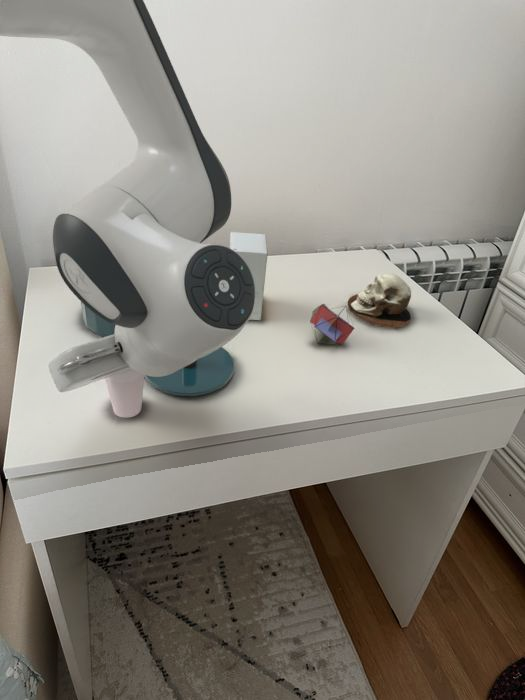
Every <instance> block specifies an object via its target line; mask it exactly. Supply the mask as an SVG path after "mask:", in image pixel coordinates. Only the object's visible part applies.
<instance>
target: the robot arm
mask: <svg viewBox="0 0 525 700" xmlns="http://www.w3.org/2000/svg"><path fill="white" fill-rule="evenodd" d="M0 37H11V38H30V39H31V38H33V39H55V40H59V41H65V42H67V43H70V44H73V45H74V46H76V47H77V48H79V49H81V50H82V51H84V52H85V53H86V54H87V55H88V57H90V58H91V59H92V60H93V61H94V63H95V64H96V66H97V67H98V69H99V70H100V72H101V74H102V76H103V78H104V80H105V81H106V84H107V86H108V87H109V88H110V90H111V93H112V95H113V96H114V98H115V99H116V100H115V101H117V104H118V105H119V107H120V109H121V111H122V113H123V114H124V117H125V118H126V120H127V121H128V124H129V126H130V127H131V129H132V131H133V133H134V135H135V136H136V139H137V150H136V153H135V156H134V157H133V159H132V161H131V162H130V163H129V164H128V165H127V166H125V167H124V168H123V169H121V170H119V172H117V173H116V174H114V175H113V176H112V177H111V178H109V179H108V180H106V181H105V182H103V183H102V184H100V185H99V186H96V187H95V188H94V189H92V190H91V191H90V192H88V193H87V194H85V195H84V196H83V197H81V198H80V199H78V200H77V201H76V202H75V203H74V204H72V205H70V206H69V207H68V208H67V209H66V210H64V211H63V212H61V213H60V214H59V215H57V217H56V218H55V220H54V224H53V229H52V246H53V253H54V258H55V263H56V267H57V269H58V273H59V274H60V276H61V278H62V280H63V282H64V283H65V285H66V287H67V288H68V289H69V290H70V291H71V292H72V294H74V296H75V297H76V298H77V299H78V300H79V301H80V303H81V302H82V303H83V304H84V305H86V306H87V307H88V308H89V309H90V310H91V311H93V312H94V313H95V314H97V315H98V316H100V317H101V318H102V319H104V320H106V321H108V322H110V323H113V324H115V332H114V334H113V335H110V336H107V337H104V336H103V337H101V338H97V339H95V340H90V341H88V342H85V343H81V344H79V345H77V346H73V347H71V348H69V349H67V350H65V351H63V352H61V353H59V354H58V355H57V356H56V357H55V358H53V360H51V361H50V362H49V363H48V370H49V373H50V375H51V378H52V381H53V384H55V388H56V389H57V391H58V392H60V393H67V392H70V391H74V390H76V389H79V388H82V387H84V386H88V385H90V384H93V383H96V382H99V381H102V380H105V378H107V377H110V376H113V375H116V374H118V373H121V372H124V371H127V370H130V369H134V370H135V371H137V372H139V373H141V374H144V375H147V376H152V377H162V376H167V375H170V374H172V373H174V372H176V371H178V370H180V369H182V368H184V367H186V366H188V365H190V364H192V363H193V362H195V361H196V360H197V359H199V358H202V357H205V356H207V355H209V354H211V353H212V352H214V351H216V350H217V349H219V348H221V347H222V348H223V347H224V346H225V345H227V344H228V343H229V342H231V341H232V340H233V339H235V337H237V336H238V335H239V334H240V333H241V332H242V331H243V329H244V328H245V327H246V325H247V324H248V322H249V321H250V320H249V318H250V316H251V314H252V311H253V308H254V303H255V284H254V279H253V276H252V273H251V270H250V268H249V266H248V265H247V263H246V262H245V260H244V259H243V258H242V257H241V256H240V255H239V254H238V253H237V252H235V251H234V250H232V249H230V247H229V246H226V245H223V244H217V243H203V242H205V241H206V240H207V239H208V238H210V237H211V236H212V235H214V234H215V233H216V232H217V231H219V230H220V229H222V228H223V227H224V226H225V225H226V223H227V222H228V220H229V218H230V216H231V212H232V188H231V183H230V179H229V177H228V174H227V171H226V169H225V168H224V165H223V164H222V162H221V161H220V159H219V157H218V155H217V154H216V152H215V151H214V149H213V148H212V147H211V145H210V143H209V142H208V140H207V139H206V137H205V136H204V134H203V132H202V129H201V128H200V127H201V126H200V125H199V124H198V120H197V118H196V116H195V114H194V111H193V110H192V107H191V105H190V103H189V101H188V97H187V96H186V93H185V92H184V89H183V87H182V85H181V82H180V80H179V78H178V77H179V76H178V75H177V73H176V70H175V69H174V66H173V64H172V61H171V59H170V57H169V55H168V52H167V50H166V48H165V46H164V43H163V41H162V39H161V37H160V34H159V31H158V30H157V27H156V25H155V23H154V20H153V18H152V16H151V13H150V12H149V10H148V7H147V6H146V3H145V1H144V0H0Z"/></svg>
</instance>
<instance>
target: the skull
mask: <svg viewBox="0 0 525 700" xmlns="http://www.w3.org/2000/svg"><path fill="white" fill-rule="evenodd" d="M411 298H412V290H411V287H410V285H409V284H408V282H406V281H405V280H404V279H403V278H402V277H401V276H399V275H397V274H395V273H393V272H391V273H390V272H386V273H381V274H378V275H375V277H374V282H371V283H368V284H367V285H366V287H365V288H364V290H362V291H360V292H359V293H357V294H354V295H352V296H350V297H349V298H348V300H347V309H348V310H349V311H350V313H352V314H353V315H354V316H356V317H357V318H358V319H360V320H362V321H363V322H366V323H369V324H370V325H371V326H377V327H382V328H390V329H391V328H396V329H397V328H401V327H404V326H407V325H408V324H409V323H411V320H412V315H411V312H410V311H409V310H408V309H407V307H408V306H409V304H410V302H411Z"/></svg>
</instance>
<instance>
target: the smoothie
mask: <svg viewBox="0 0 525 700" xmlns="http://www.w3.org/2000/svg"><path fill="white" fill-rule="evenodd" d="M104 381H105V385H106V388H107V391H108V395H109V399H110V402H111V406H112V410H113V413H114V414H115V415H116V416H117V417H119V418H122V419H128V418H133V417H136V416H137V415H138V414H140V413H141V411H142V405H143V394H144V387H145V386H144V384H145V375H144V374H141V373H139V372H137V371H135V370H134V369H130V370H127V371H124V372H121V373H118V374H116V375H113V376H110V377H107V378H104Z"/></svg>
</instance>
